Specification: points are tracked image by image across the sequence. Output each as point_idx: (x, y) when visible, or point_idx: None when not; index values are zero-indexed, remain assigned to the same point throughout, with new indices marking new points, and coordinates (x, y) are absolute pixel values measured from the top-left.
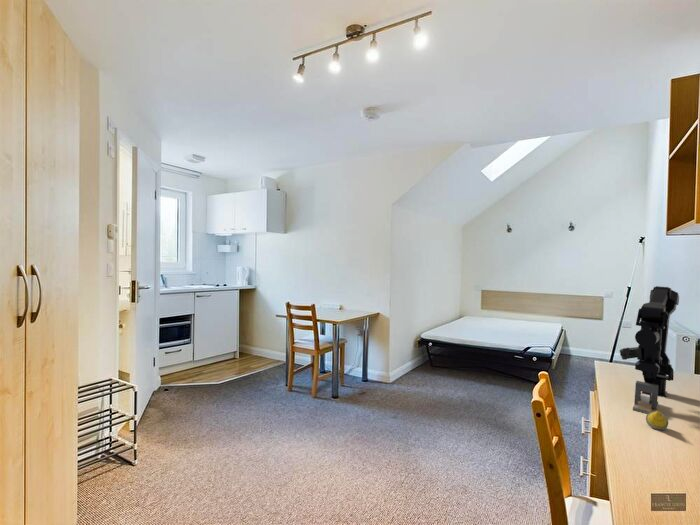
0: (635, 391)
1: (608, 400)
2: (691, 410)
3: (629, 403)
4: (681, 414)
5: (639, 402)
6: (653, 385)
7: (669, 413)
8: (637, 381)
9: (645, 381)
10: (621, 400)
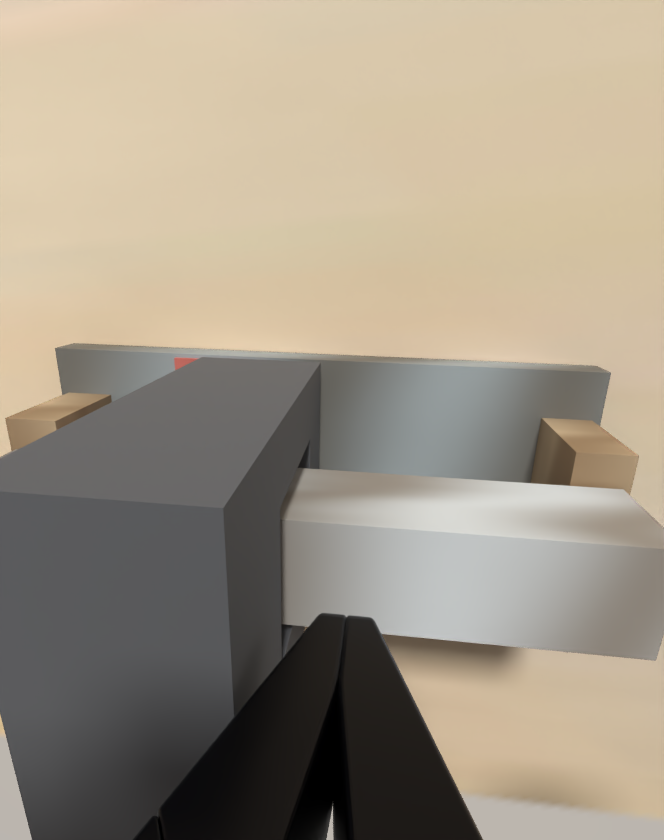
0: (111, 409)
1: (201, 17)
2: (564, 790)
3: (309, 293)
4: None
5: (10, 437)
6: (107, 817)
7: None
8: (132, 525)
9: (249, 719)
10: (360, 187)
